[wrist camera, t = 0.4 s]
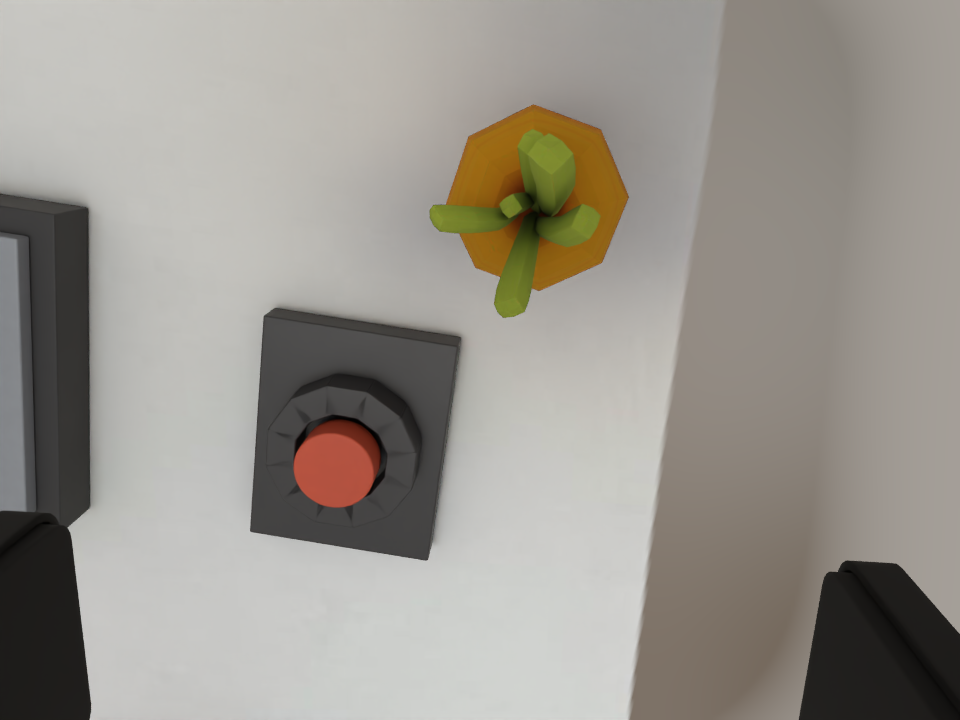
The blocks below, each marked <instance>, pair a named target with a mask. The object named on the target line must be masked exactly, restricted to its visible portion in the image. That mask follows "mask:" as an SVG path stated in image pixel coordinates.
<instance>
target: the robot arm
mask: <svg viewBox="0 0 960 720" xmlns="http://www.w3.org/2000/svg"><path fill="white" fill-rule="evenodd" d="M90 713H91V700H90V691H89V683H88V674H87V666H86V658H85V649H84V641H83V632H82V624H81V615H80V607H79V598H78V590H77V582H76V573H75V565H74V556H73V548H72V539H71V535H70V532H69V530H68V528H67V527H65V526H64V525H59V522H58V520H57V519H56V517H55V516H54V515H52V514H51V513H41V512H25V511H0V720H89V719H90ZM799 720H960V634H959V633H958V632H957V631H956V629H955V628H954V627H953V626H952V625H951V624H950V623H949V622H948V620H947V619H946V618H945V617H944V616H943V615H942V614H941V612H940V611H939V610H938V609H937V608H936V607H935V605H934V604H933V603H932V602H931V601H930V600H929V599H928V598H927V596H926V595H925V594H924V593H923V592H922V591H921V589H920V588H919V587H918V586H917V585H916V584H915V582H914V581H913V580H912V579H911V578H910V577H909V576H908V574H906V572H905V571H904V570H903V569H902V568H901V567H900V566H899V565H897V564H893V563H879V562H862V561H845V562H843V563H842V564H841V566H840V568H839V570H838V572H828V573H827V574H826V576H825V577H824V580H823V584H822V590H821V595H820V601H819V608H818V613H817V619H816V624H815V630H814V636H813V641H812V648H811V653H810V658H809V665H808V670H807V676H806V681H805V687H804V694H803V699H802V704H801V710H800V716H799Z"/></svg>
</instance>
